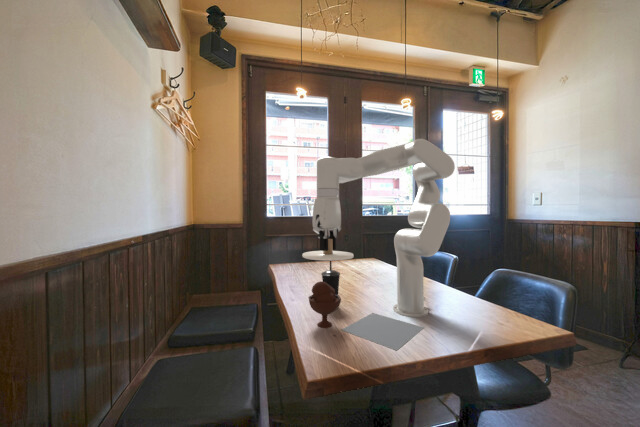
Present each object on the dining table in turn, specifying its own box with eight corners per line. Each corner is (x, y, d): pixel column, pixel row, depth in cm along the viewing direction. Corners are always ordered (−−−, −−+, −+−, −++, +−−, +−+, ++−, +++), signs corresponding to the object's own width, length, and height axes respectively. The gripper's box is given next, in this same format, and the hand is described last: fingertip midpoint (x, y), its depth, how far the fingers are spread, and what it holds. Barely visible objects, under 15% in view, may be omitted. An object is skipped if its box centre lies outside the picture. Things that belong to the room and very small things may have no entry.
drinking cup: (322, 303, 108) (322, 255, 108) (340, 304, 107) (340, 256, 107) (320, 310, 100) (320, 259, 101) (340, 310, 100) (339, 259, 100)
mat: (372, 314, 96) (372, 312, 96) (424, 329, 83) (424, 327, 83) (341, 331, 82) (341, 329, 82) (396, 352, 69) (396, 350, 69)
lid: (325, 251, 98) (325, 236, 98) (363, 256, 86) (363, 238, 87) (291, 256, 85) (291, 239, 85) (331, 262, 74) (331, 242, 74)
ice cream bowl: (339, 334, 80) (338, 286, 80) (304, 331, 82) (304, 284, 82) (343, 320, 90) (342, 277, 90) (312, 318, 92) (311, 276, 92)
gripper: (334, 197, 95) (334, 247, 94) (302, 193, 83) (302, 251, 82) (351, 195, 90) (351, 248, 89) (319, 192, 77) (319, 253, 77)
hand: (327, 249), depth 86 cm, fingers closed on lid, 3 cm apart
